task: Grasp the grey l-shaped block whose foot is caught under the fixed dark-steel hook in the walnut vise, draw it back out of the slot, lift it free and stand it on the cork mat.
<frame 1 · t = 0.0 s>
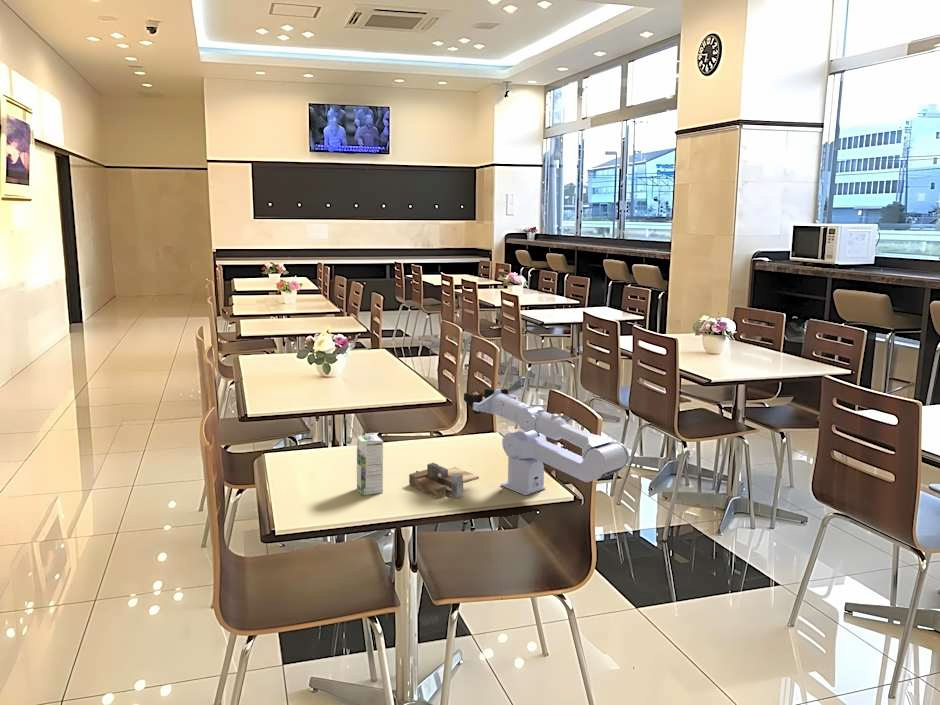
hand: (475, 394, 217), 22 cm above the table, tool horizontal, fingers open, 7 cm apart
drink carton: (370, 491, 202), on the table
cork mat: (456, 476, 214), on the table
vise: (440, 489, 204), on the table
grey l-shaped block: (457, 496, 199), on the table
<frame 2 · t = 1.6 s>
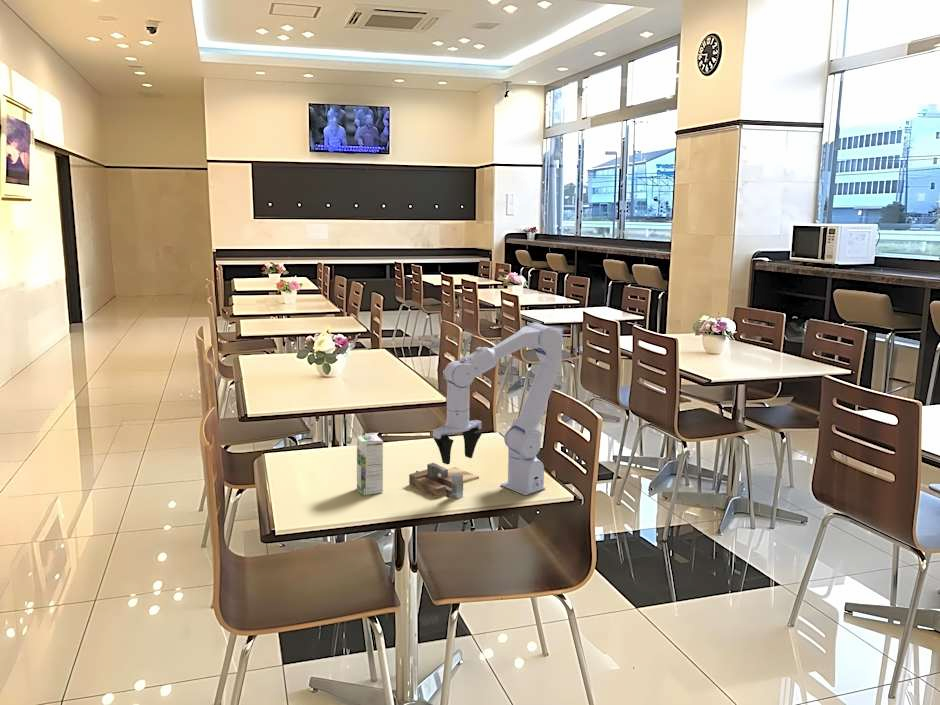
hand: (457, 460, 197), 10 cm above the table, tool pointing down, fingers open, 7 cm apart
nothing on the table moved.
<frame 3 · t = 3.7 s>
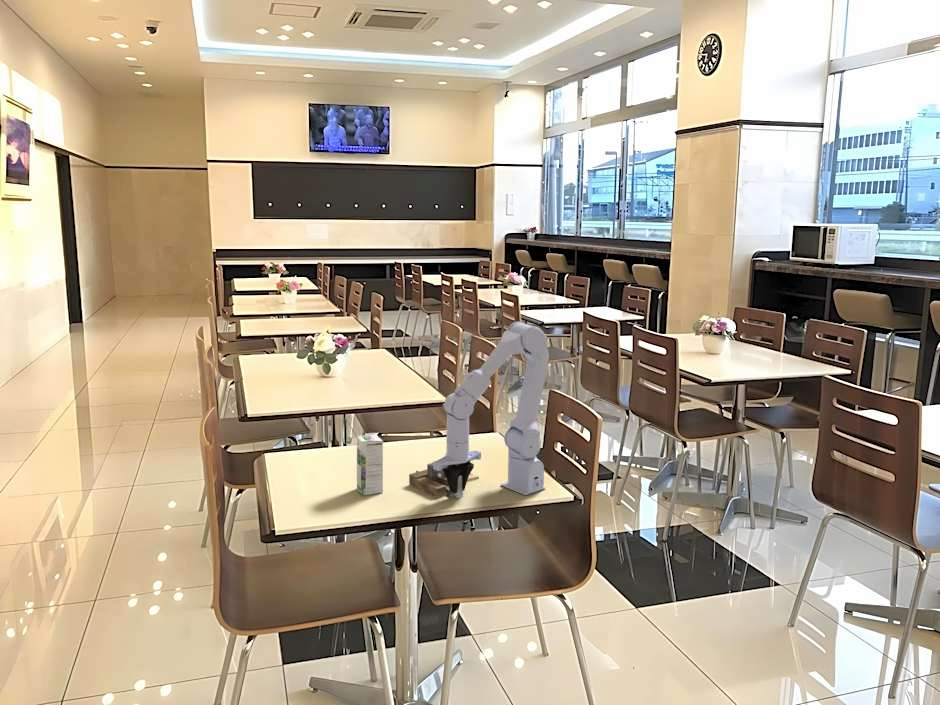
hand: (457, 490, 199), 2 cm above the table, tool pointing down, fingers closed on grey l-shaped block, 2 cm apart
grey l-shaped block: (457, 496, 199), on the table, touching gripper
everything else where it was.
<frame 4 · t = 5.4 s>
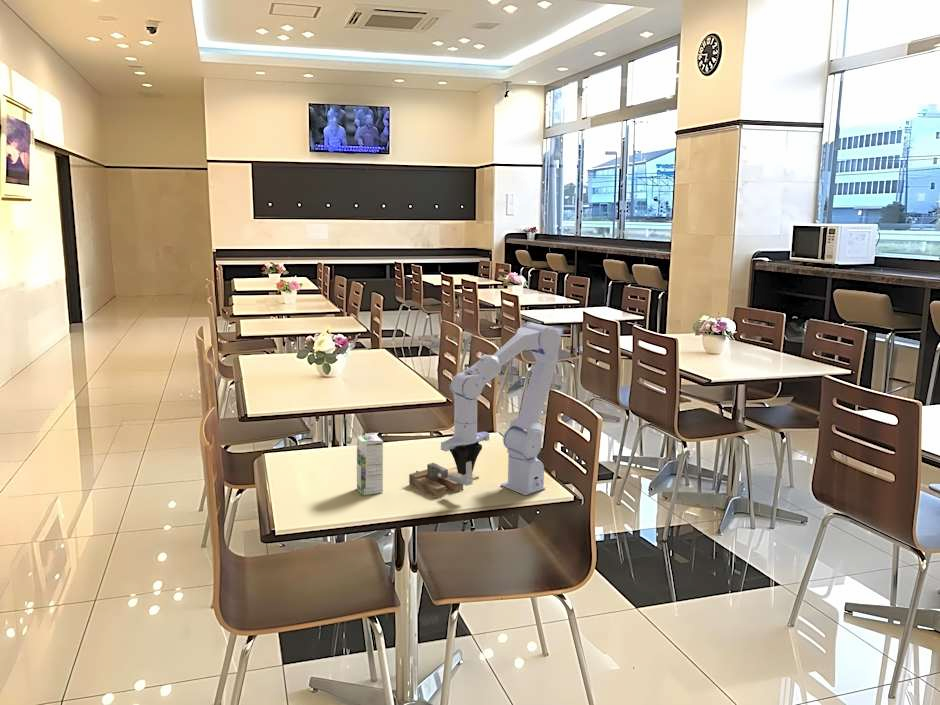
hand: (465, 472, 195), 7 cm above the table, tool pointing down, fingers closed on grey l-shaped block
grey l-shaped block: (467, 484, 195), point 5 cm above the table, touching gripper
everything else where it was.
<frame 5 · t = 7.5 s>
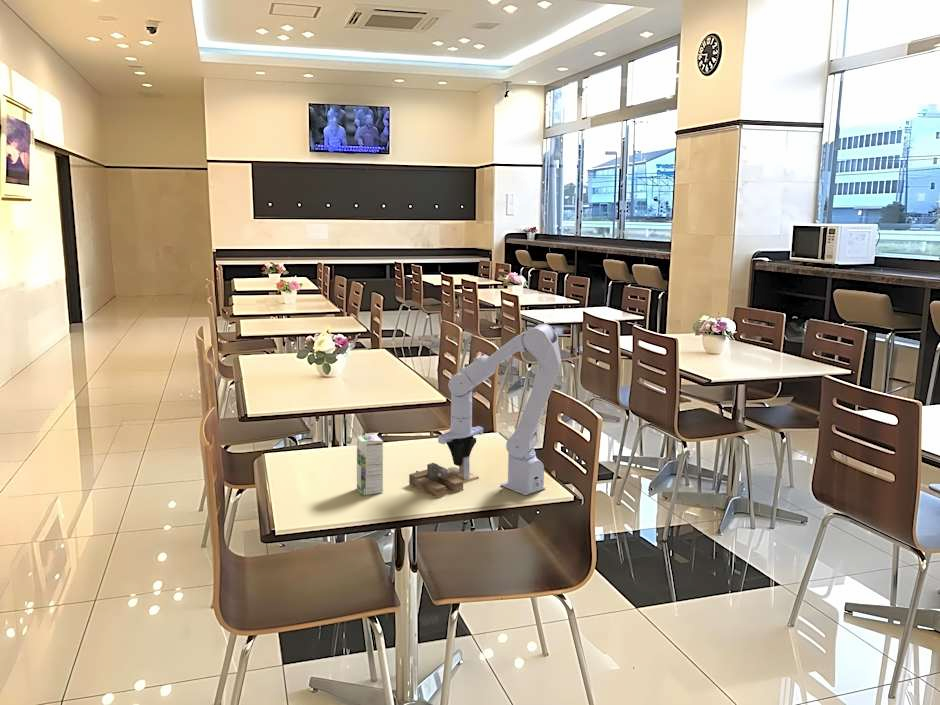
hand: (460, 463, 212), 4 cm above the table, tool pointing down, fingers closed on grey l-shaped block, 2 cm apart
grey l-shaped block: (464, 477, 211), point 1 cm above the table, touching cork mat, gripper
everything else where it was.
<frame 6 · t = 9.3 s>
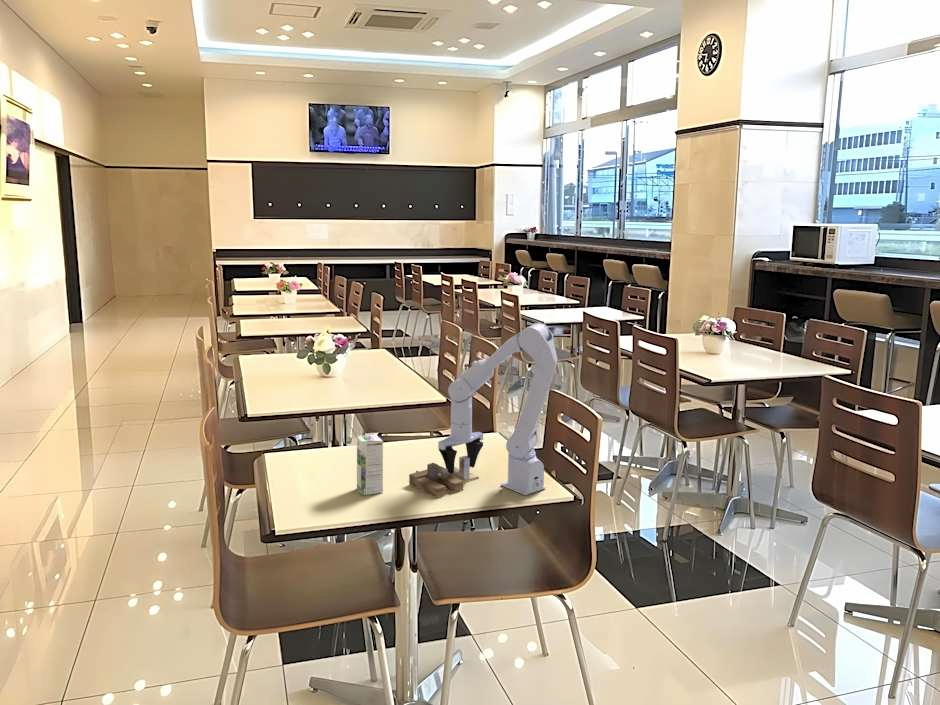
hand: (460, 469, 212), 3 cm above the table, tool pointing down, fingers open, 7 cm apart
grey l-shaped block: (464, 478, 211), resting on cork mat
everything else where it was.
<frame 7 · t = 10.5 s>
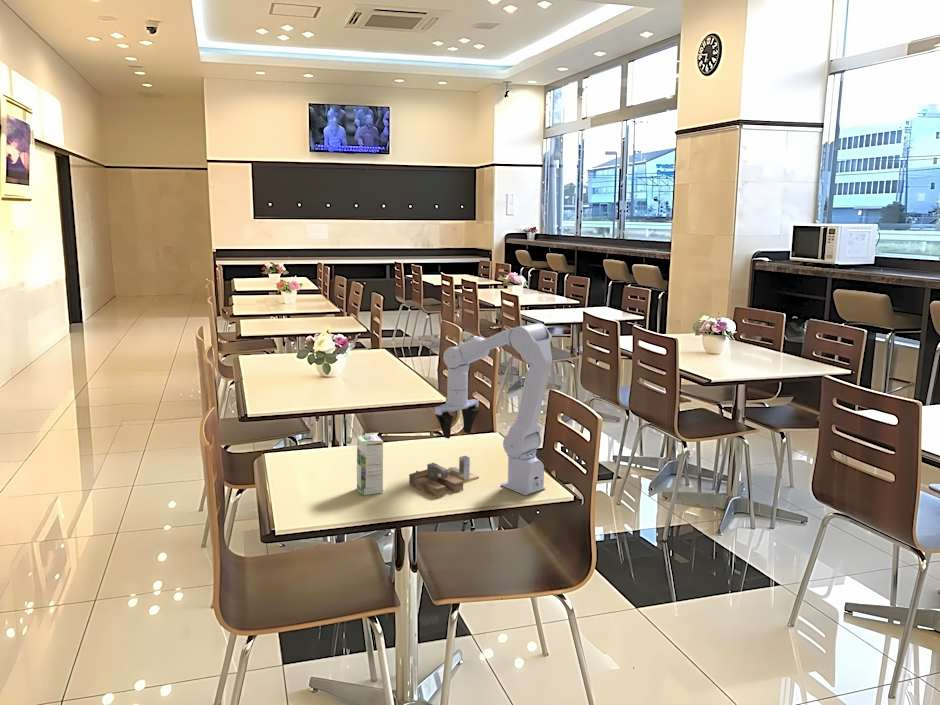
hand: (457, 435, 219), 10 cm above the table, tool pointing down, fingers open, 7 cm apart
nothing on the table moved.
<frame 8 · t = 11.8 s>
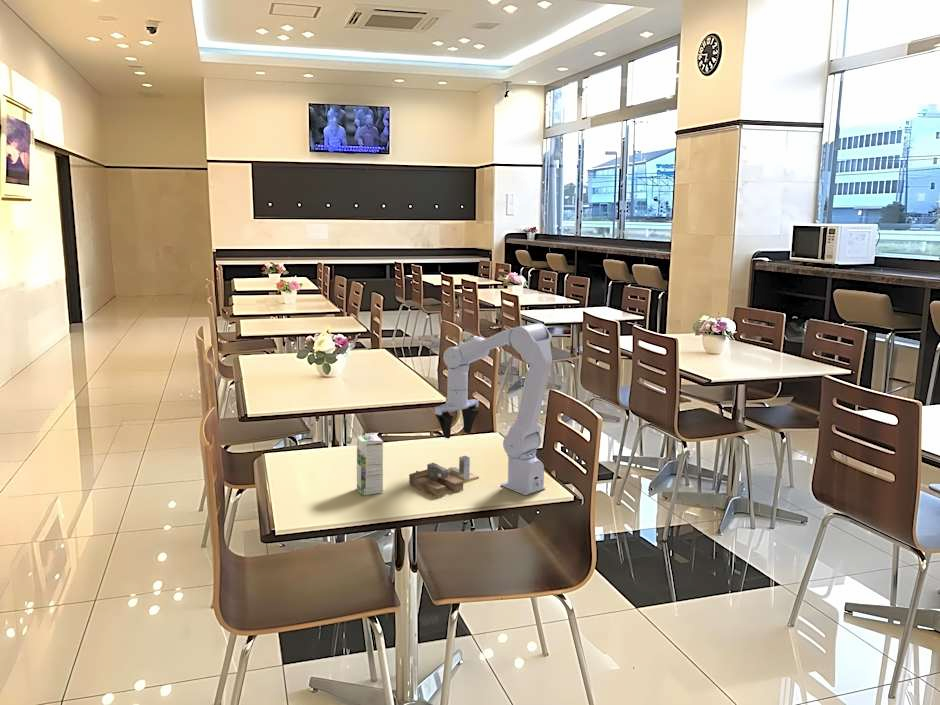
hand: (457, 435, 219), 10 cm above the table, tool pointing down, fingers open, 7 cm apart
nothing on the table moved.
at the end: grey l-shaped block inside the target area (3.5 cm from its centre), point 0.5 cm above the table; grey l-shaped block tilted 0°; the gripper is holding nothing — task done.
